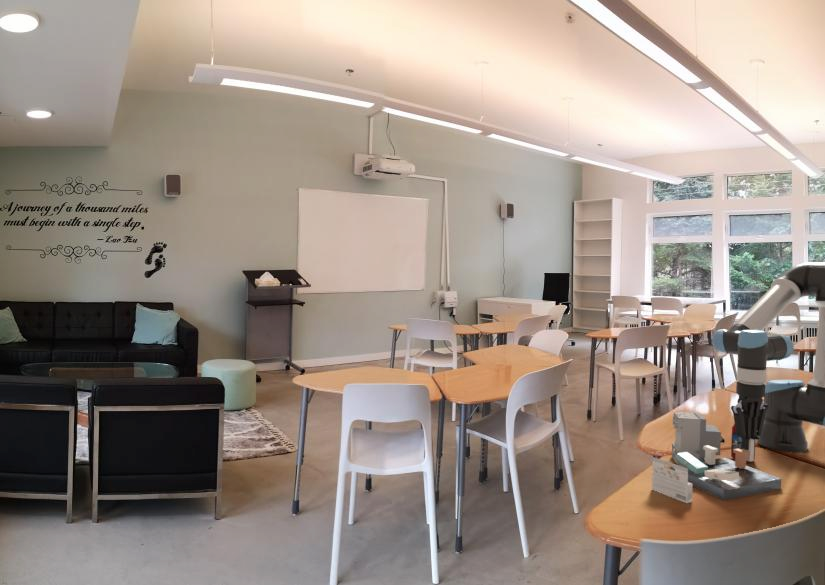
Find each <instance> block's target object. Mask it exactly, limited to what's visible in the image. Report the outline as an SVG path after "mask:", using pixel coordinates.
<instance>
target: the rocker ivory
mask: <svg viewBox="0 0 825 585" xmlns="http://www.w3.org/2000/svg"><path fill="white" fill-rule="evenodd" d="M704 473H705V477H706V478H712V479H719V480H725V481H732V480H738V479H740V478H739V472H732V471H725V470H718V469H712V470H707V471H704Z"/></svg>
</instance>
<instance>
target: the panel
mask: <svg viewBox="0 0 825 585" xmlns="http://www.w3.org/2000/svg"><path fill="white" fill-rule="evenodd" d="M701 462H702V463H703V464H705V465H706V466H708V469H707V470H712V469H718V470H725V471H732V472H739V478H740V479H738V480H732V481H725V480H719V479H712V478H706V477H705V473H699V474H696V473H694V472H693V471H692V470H690V469H689V468H688V467H686V466H685V465H684V464H677V465H679V466H682V467H685V468H688V482H689V483H692V484H693V486H694V488H696V489H698V490H700V489H701V491H702V490H704V491H706V492H708V493H707V494H709V493H710V494H709V495H711V494H712V495H711V496H713V495H714V496H713V497H715V498H718V499H720V500H722V501H728V500H733V499H738V498H743V497H749V496H752V495H758V494H763V493H768V491H769V492H773V490H774V491H778V490H782V478H780V477H778V476H775V475H773V474H770V473H767V472H764V471H762V470H759V469H757V468H754V467H751V466H749V465H746V468H742V469H741V468H738V467H735V460H732V459H730V458H726V457H720V458H718V457H717V458H715V464H713V465H709V464H707V463H705V461H701ZM669 469H671V470H674V471H675V469H674V468H673V467H672V466H671V465H670V467H669ZM704 491H703V492H704ZM706 492H705V493H706Z"/></svg>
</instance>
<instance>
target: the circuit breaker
mask: <svg viewBox="0 0 825 585" xmlns="http://www.w3.org/2000/svg"><path fill="white" fill-rule="evenodd" d="M672 425H673V429H674V430H675V431H674V432H675V434H674V442H673V441H672V442H671V457H672V459H673V460H674V461H675V463H676V465H678V464H682V463H681V462H680V461H678V460H677V459H676V455H677V453H682V452H688V453H690V454H691V455H692V456H694V457H695V458H696V459H698V460H699V461H705V450H704V449H703V446H706V445H709V446H712V447H714V448H717V449H718V452H716V456H720V455H721V444H725V442H726V441H725V440H726V439H725V438H723V436H722V431H720V430H719V429H718V428H717V427H716V426H715V425H713V424H707V419H706V418H705V417H704V416H703V415H702V414H701V413H699V412H686V411H685V412H684V411H683V412H682V411H673V416H672Z"/></svg>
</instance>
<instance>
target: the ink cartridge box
mask: <svg viewBox="0 0 825 585" xmlns="http://www.w3.org/2000/svg"><path fill="white" fill-rule="evenodd" d="M668 465H669V466H670V467H671V466H672V467H673V468H674V469H675V471H674V470H671V469H670V468H669V467H665V466H668ZM651 476H652V478H651V491H653V490H654V492H656V491H657V492H656V493H658V492H659V494H661V493H662V494H661V495H664V496H666V495H667V496H666V497H669V498H671V497H672V499H674V498H675V500H676V501H679V502H681V503H684V504H690V503H692V502H693V484H692V483H689V482H688V468H685V467H682V466H679V465H678V464H677V463H676V464H675V463H673V462H669V461H666V460H663V459H660V458H657V457H654V456H652V473H651Z"/></svg>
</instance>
